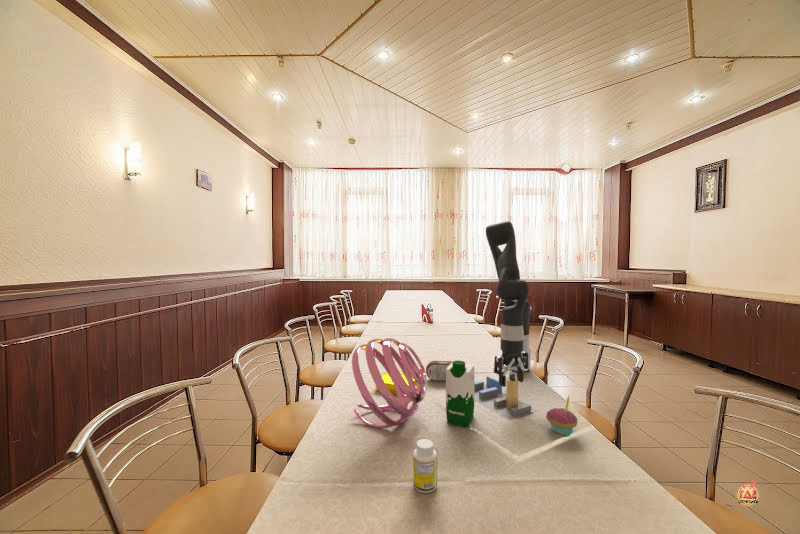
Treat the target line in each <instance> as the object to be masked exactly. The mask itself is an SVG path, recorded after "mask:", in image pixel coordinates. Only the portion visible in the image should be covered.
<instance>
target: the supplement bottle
mask: <svg viewBox="0 0 800 534" xmlns="http://www.w3.org/2000/svg"><path fill="white" fill-rule="evenodd" d="M415 445H416V446H415V449H414V450H413V454H412V457H413V459H412V461H413V462H412V464H413V465H412V466H413V468H412V469H413V470H412V471H413V473H412V475H413V486H414V488H415V490H416V491H417V492H419V493H423V494H428V493H431V492H434V491H435V490H436V488H437V486H438V454H437V450H436V449H435V448H434V442H433V441H432V440H430V439H427V438H422V439H419V440H417V442H416V444H415Z"/></svg>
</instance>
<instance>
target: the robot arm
mask: <svg viewBox="0 0 800 534" xmlns="http://www.w3.org/2000/svg"><path fill="white" fill-rule="evenodd" d="M485 227H486V228H485V235H486V239H487V242H488V246H489V249H490V251H491V255H492V258H493V261H494V265H495V271H496V276H497V278H498V282H497V286H496V295H497V296H498V297H497V298H499V299H500V300H503V305H504V307H503V308H501V325H500V350H501V351H502V352H501V355H500V356H498V355H495V356H494V363H493V372H494V374H497V375H498V381H499V384H500V386H502V388H503V387H504V388H506V379H507V377H506V376H507V375H506V374H507V373H508V371H512V370H514V371H513V372H516V371H517V372H516V379H518V383H519V382H520V383H523V382H524V379H525V377H524V375H525V372H524V371H526V370H527V369H529V370H531V349H530V329H531V328H530V325H531V311H532V310H531V303H530V301H529V300H528V296H529V294H530V293H529V292H530V287H529V284H528V282H527V281H526V280H523V279H521V274H520V269H519V264H518V260H517V241H516V234H515V228H514V226H513V224H512V222H511V221H509V220H507V221H501V222H497V223H493V224H490V225H487V226H485ZM503 245H505V247H504V248H503V250H501V248H500V247H499V246H503ZM510 369H511V370H510ZM525 369H526V370H525Z"/></svg>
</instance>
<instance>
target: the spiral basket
mask: <svg viewBox="0 0 800 534" xmlns="http://www.w3.org/2000/svg"><path fill="white" fill-rule="evenodd" d="M375 343H377V344H379V345H381V349H382V352H380V351H379V350H378V349H377V348H376V347H374V345H375ZM391 343H393V344H395V345H396V347H398V351H399V353H398V352H397V350H395V349H394V347H393V346H392V345H391ZM360 350H363V351H365V357H366V358H365V359H366V364H367V368H368V370H369V373H370V375H371V377H372V381H373V382H374V384H375V387H376V386H377V388H378V390H379V391H378V392H379V393H380V395H381V396H382V398H383V399H384V400H385V401H386V403H387V404H384V405H378V404H377V402H376V401H375V399H374V398H373V397H372V395H371V394H370V392H369V390H368V387H367V385H366V383H365V380H364V378H363V375H362V373H361V372H362V371H361V368H360V362H359V353H360ZM411 354H412V355H413V356H412V355H411ZM413 357H414V358H415V359H414V358H413ZM375 358H376V359H375ZM376 360H377V361H378V362H379V363H380V364H381V366H382V367H383V368H384V370H385V372H387V373H388V374H389V376H390V378H391V380H392V382H393V384H394V386H395V389H396V391H397V394H398V395H397V398H398V399H396V397H395V396H394V394H392V393H391V392H390V390H389V389H388V387H387V386H386V384H385V382H384V380H383V379H382V377H381V376H382V375H381V373H380V370H379V368H378V365H377V362H376ZM415 360H416V361H417V362H416V361H415ZM395 361H396V363H397V365H398V366H399V368H400V370H399V368H398V367H397V365H396V363H395ZM351 369H352V372H353V373H352V374H353V377H354V381H355V383H356V387H357V389H358V390H359V393H360V395H361V396H362V398H363V400H364V402H365V403H366V405H363V404H359V403H358V404H357V405H356V406H357V407H359V408H362V409H364V410H367V411H371V412H372V413H373V414H374V415H375V417H377V419H379V420H380V421H381V422H382V423H384V424H377V423H376V424H375V423H373V422H370V421H369V420H367V419H365V418H364V417H363V416H362V415H361V414H360V413H359V411H358V410H357V409H356V408H354V409H353V412H354V413H355V415H356V417H357V418H358V419H359V420H361V422H363V424H366V425H367V426H368V427H372V428H376V429H388V428H393V427H397V426H400V425H401V424H403V423H404V422H405V421H406V420H407V419H409V418H411V417H412V416H413V415H415V414H416V412H417V411H418V409H419V404H420V403H421V402H422V401H423V400H424V399H425V395H426V384H427V374H426V368H425V367H424V365H423V363H422V360H421V359H420V357H419V356H418V355H417V353H416V352H415V351H414V349H413V348H412V347H410V345H408V344H407V343H404V342H400V341H399V340H397V339H395V338H391V337H389V338H388V337H387V338H384V339H381V338H373V339H371V340H369V341H368V342H367V343H365V344H364V343H363V344H361V345H359V346H358V347H356V348H355V349H354V351H353V353H352V356H351ZM399 371H402V372H403V373H404V375H405V377H406V380H407V382H408V384H409V385H408V384H407V383H406V382H405V380H404V379H403V377H402V376H401V374H400V372H399ZM412 377H413V378H412ZM413 379H414V380H415V381H416V382H417V383H418V384H419V385H418V387H416V386H415V383H414V381H413ZM411 402H412V404H411V406H409V408H408V405H409V403H411ZM391 410H392V411H395V412H396V413H397V414H398V415H400V416H399V418H398V419H392V418H391V417H390V416H388V415H387V414H386V413H385V412H386V411H391Z"/></svg>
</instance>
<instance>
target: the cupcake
mask: <svg viewBox="0 0 800 534" xmlns="http://www.w3.org/2000/svg"><path fill="white" fill-rule="evenodd" d="M569 404H570V394H569V395H568V397H566V402H565V407H564V408H563V407H560V408H558V407H557V408H556V407H554V408H552V409H550V410H548V411H547V412H546V414H545V418H546V420H547V421H548V422H549V424H550V425H551V429H552V430H553V431H554V432H555V433H557V434H560V435H563V436H562V437H563V438H568V437H570V436H571V433H572V431H573V429H574V428H576V427H577V425H578V417H577V416H576V415H575V414H574V413H573V412H571V411H570V410H569V409H568V408H569Z"/></svg>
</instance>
